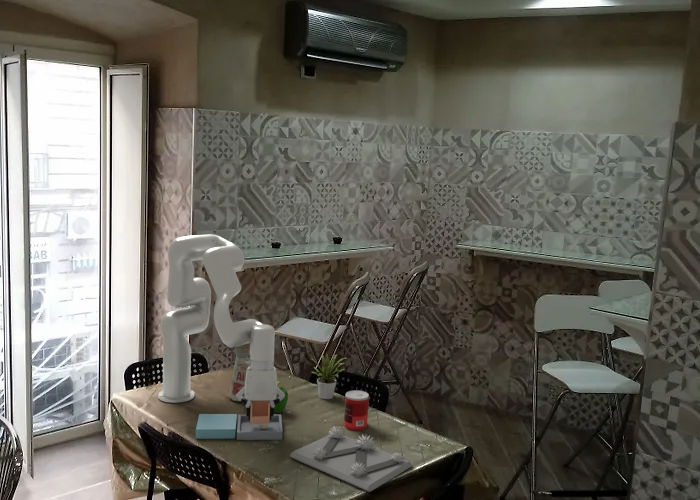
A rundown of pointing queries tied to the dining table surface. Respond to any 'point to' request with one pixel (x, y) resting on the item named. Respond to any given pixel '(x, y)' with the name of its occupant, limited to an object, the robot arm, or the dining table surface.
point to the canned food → (356, 410)
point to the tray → (259, 429)
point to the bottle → (239, 371)
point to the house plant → (327, 377)
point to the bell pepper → (282, 404)
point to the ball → (264, 426)
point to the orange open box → (260, 412)
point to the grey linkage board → (352, 460)
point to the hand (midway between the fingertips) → (259, 417)
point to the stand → (216, 426)
